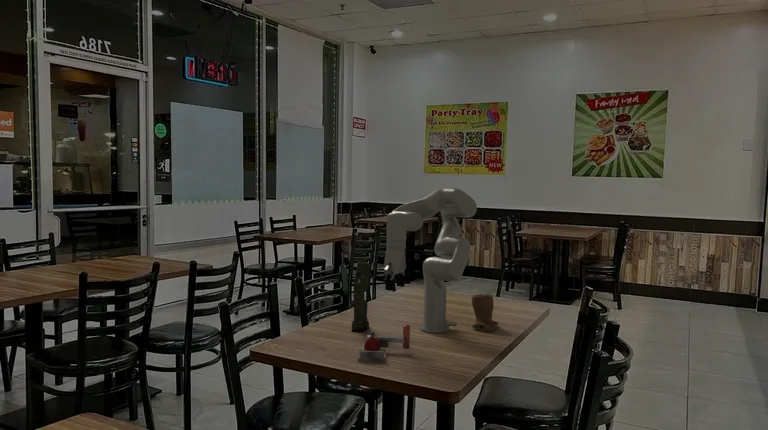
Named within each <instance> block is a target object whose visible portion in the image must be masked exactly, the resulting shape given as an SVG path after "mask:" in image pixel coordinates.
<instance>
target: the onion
mask: <svg viewBox="0 0 768 430" xmlns="http://www.w3.org/2000/svg"><path fill="white" fill-rule="evenodd" d="M363 344H364V350H365V351H379V350H380V344H379V342H378V340H377V339H376V338H374V336H373V335H371V337H370V338H369V339H367V340H365V341H364V343H363Z"/></svg>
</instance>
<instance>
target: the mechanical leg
mask: <svg viewBox="0 0 768 430" xmlns="http://www.w3.org/2000/svg"><path fill="white" fill-rule="evenodd" d="M371 267H372V266H371V264H370V263H368V262H365V261H357V264H356V269H355V270H356V271H355V278H354V280H353V281H354V282H353V294H352V295H353V320H352V321H351V333H362V334H363V333H364V332H366V331H367V330H369V327H370V322H369V320H368V301H367V300H366V299H365V292H367V290H368V285H369V277H370V274H371V272H372V271H371V270H372V268H371Z"/></svg>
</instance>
